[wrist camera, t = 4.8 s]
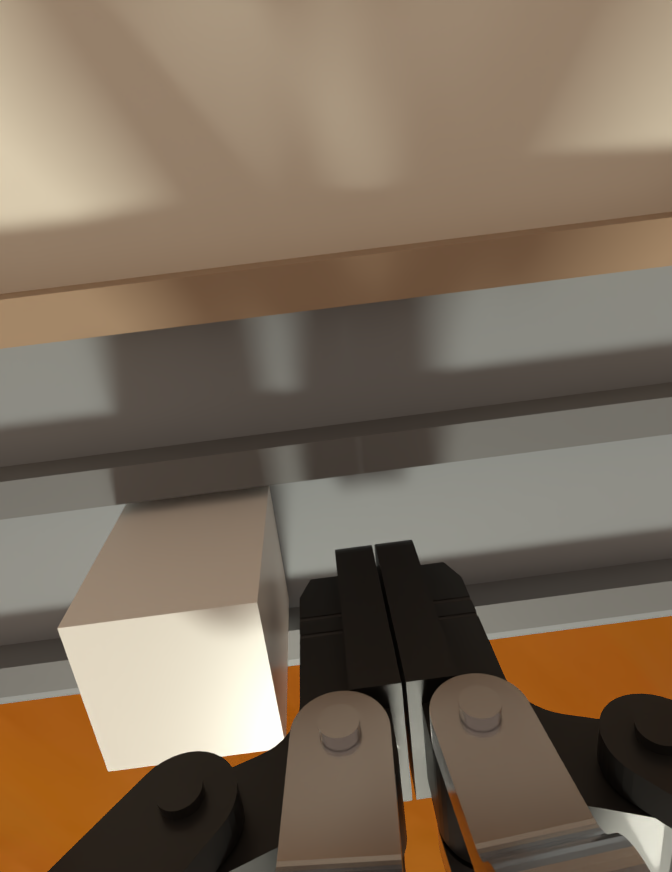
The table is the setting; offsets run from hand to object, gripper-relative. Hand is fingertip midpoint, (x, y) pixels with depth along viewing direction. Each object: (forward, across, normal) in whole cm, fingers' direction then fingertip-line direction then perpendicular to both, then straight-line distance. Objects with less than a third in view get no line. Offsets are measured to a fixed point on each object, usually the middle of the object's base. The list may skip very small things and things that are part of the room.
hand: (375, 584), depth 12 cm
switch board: (+4, +1, -5) cm, 6 cm away
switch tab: (+2, +3, 0) cm, 4 cm away
